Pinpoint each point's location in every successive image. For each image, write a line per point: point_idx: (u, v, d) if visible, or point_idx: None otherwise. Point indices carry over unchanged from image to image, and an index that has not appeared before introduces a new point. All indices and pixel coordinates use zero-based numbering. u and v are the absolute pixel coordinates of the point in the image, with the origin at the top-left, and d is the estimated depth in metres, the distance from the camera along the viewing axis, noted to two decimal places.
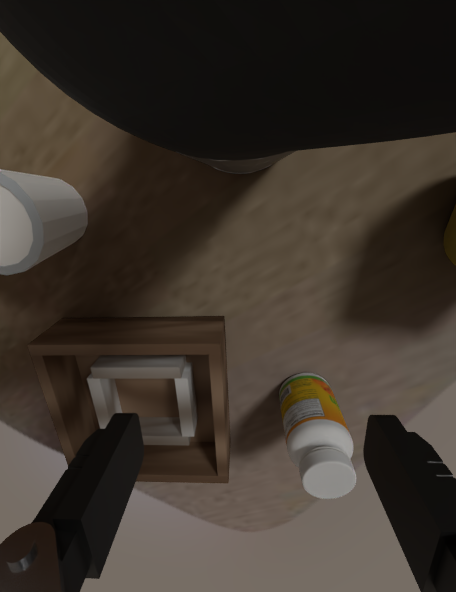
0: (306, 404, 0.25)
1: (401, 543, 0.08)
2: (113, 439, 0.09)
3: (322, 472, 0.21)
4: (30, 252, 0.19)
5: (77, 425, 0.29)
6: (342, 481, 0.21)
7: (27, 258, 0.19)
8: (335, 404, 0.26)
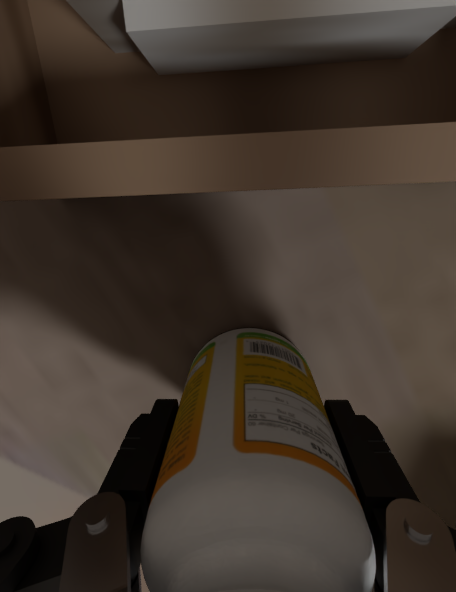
0: None
1: None
2: (160, 422, 0.09)
3: None
4: None
5: None
6: None
7: None
8: None
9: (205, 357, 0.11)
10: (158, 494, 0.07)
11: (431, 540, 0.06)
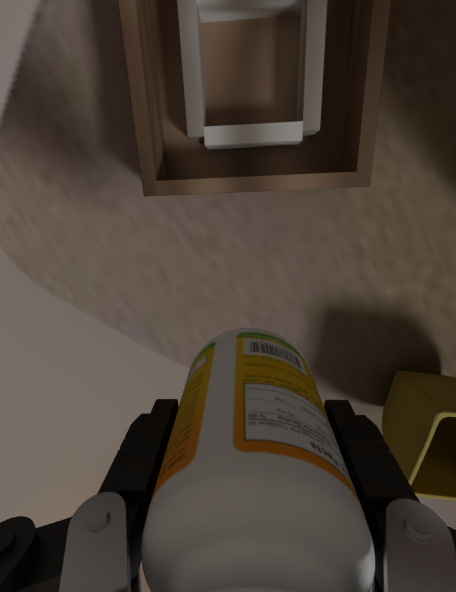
0: (339, 449, 0.08)
1: None
2: (160, 422, 0.09)
3: None
4: None
5: None
6: None
7: None
8: None
9: (206, 357, 0.11)
10: (158, 493, 0.07)
11: (431, 540, 0.06)
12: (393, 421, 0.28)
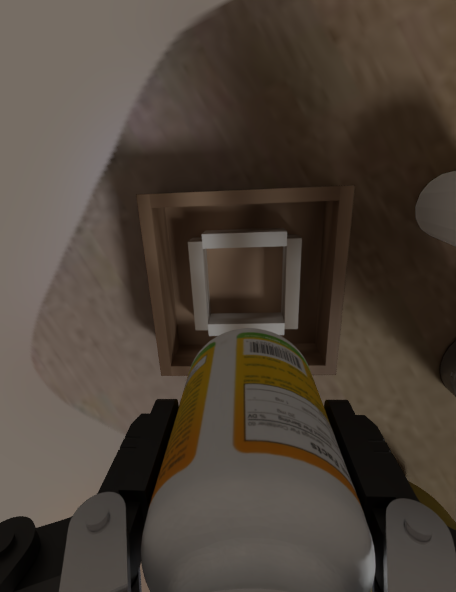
0: None
1: None
2: (160, 422, 0.09)
3: None
4: None
5: None
6: None
7: None
8: None
9: (205, 357, 0.11)
10: (158, 494, 0.07)
11: (431, 540, 0.06)
12: None
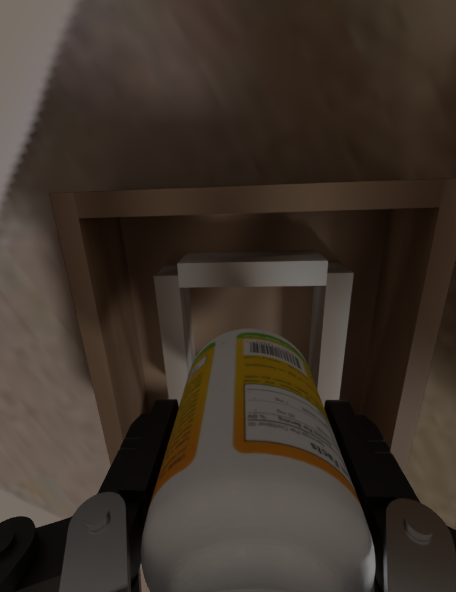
0: (339, 450, 0.08)
1: None
2: (160, 422, 0.09)
3: None
4: None
5: None
6: None
7: None
8: None
9: (205, 357, 0.11)
10: (158, 494, 0.07)
11: (431, 540, 0.06)
12: None
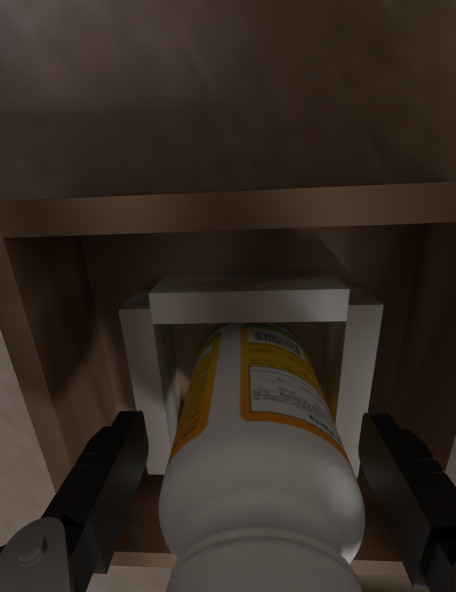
0: None
1: (393, 538, 0.08)
2: (119, 436, 0.09)
3: None
4: None
5: None
6: None
7: None
8: None
9: (212, 345, 0.12)
10: (174, 459, 0.08)
11: None
12: None
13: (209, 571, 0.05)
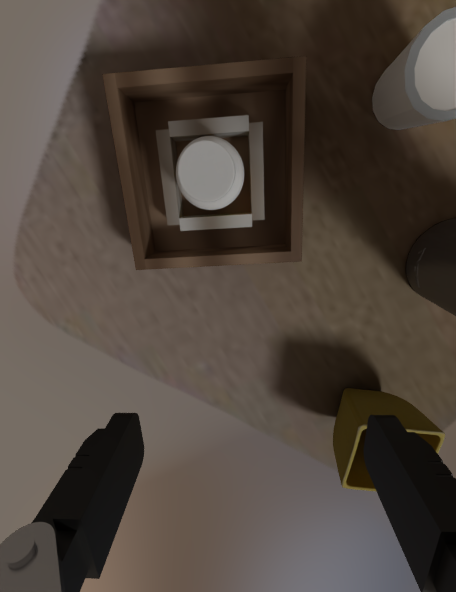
0: None
1: (401, 543, 0.08)
2: (113, 439, 0.09)
3: (219, 162, 0.20)
4: (422, 102, 0.21)
5: (179, 89, 0.25)
6: (207, 187, 0.20)
7: (416, 96, 0.21)
8: None
9: None
10: None
11: None
12: (338, 430, 0.35)
13: None
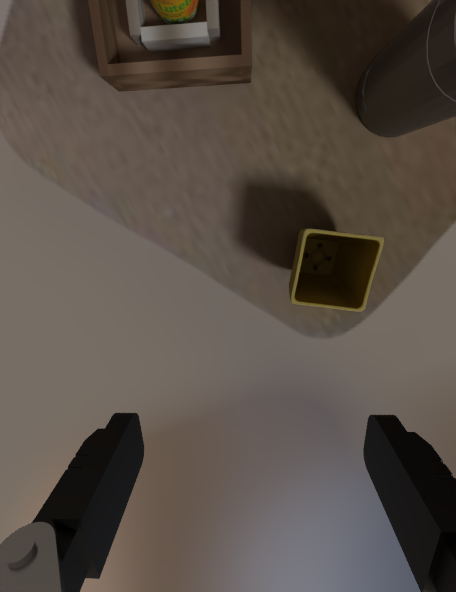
0: None
1: (401, 542, 0.08)
2: (113, 439, 0.09)
3: None
4: None
5: None
6: None
7: None
8: None
9: None
10: None
11: None
12: None
13: None
